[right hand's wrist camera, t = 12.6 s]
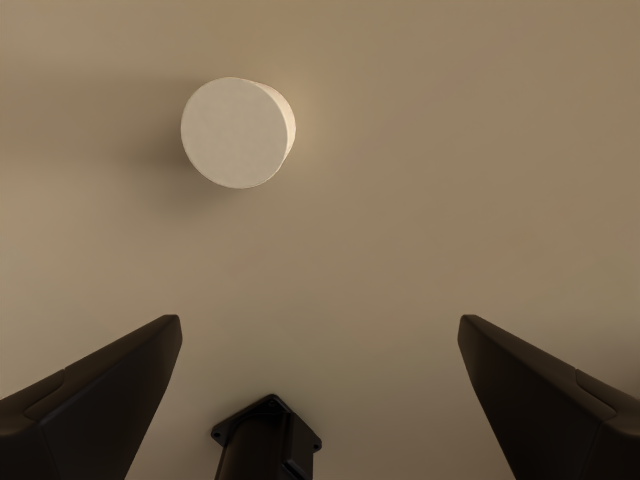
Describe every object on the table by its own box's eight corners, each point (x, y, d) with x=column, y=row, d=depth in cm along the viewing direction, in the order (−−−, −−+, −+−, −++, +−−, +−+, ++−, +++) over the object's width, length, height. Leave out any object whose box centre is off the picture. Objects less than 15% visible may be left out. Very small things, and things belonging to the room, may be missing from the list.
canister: (282, 180, 22) (271, 202, 17) (203, 154, 21) (171, 170, 17) (306, 99, 20) (302, 99, 16) (221, 69, 20) (191, 60, 15)
